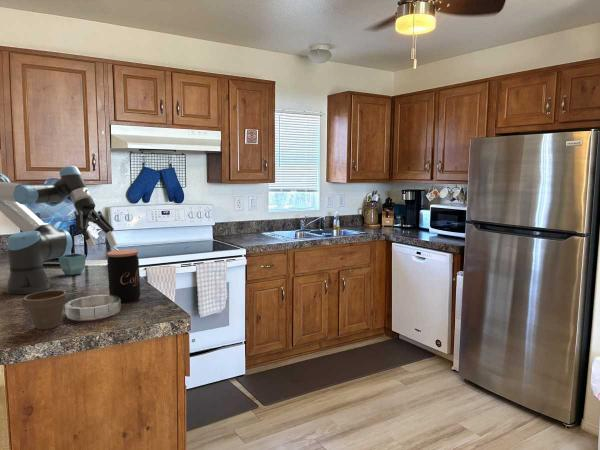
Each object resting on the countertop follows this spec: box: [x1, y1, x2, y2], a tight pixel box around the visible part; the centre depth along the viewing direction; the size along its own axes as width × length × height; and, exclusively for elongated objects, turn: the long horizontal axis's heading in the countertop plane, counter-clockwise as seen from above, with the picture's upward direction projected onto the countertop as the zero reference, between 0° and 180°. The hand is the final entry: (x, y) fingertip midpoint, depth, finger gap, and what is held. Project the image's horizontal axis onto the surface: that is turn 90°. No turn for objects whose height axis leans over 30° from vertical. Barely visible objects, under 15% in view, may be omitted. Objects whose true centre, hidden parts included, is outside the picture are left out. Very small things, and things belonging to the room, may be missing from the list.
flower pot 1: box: [22, 289, 68, 330], centre depth 141 cm, size 12×11×10 cm
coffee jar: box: [106, 249, 141, 305], centre depth 170 cm, size 11×11×18 cm
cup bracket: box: [64, 294, 122, 322], centre depth 155 cm, size 16×16×4 cm
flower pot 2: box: [58, 252, 87, 276], centre depth 217 cm, size 9×9×9 cm
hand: (103, 246), depth 187 cm, fingers open, 13 cm apart
